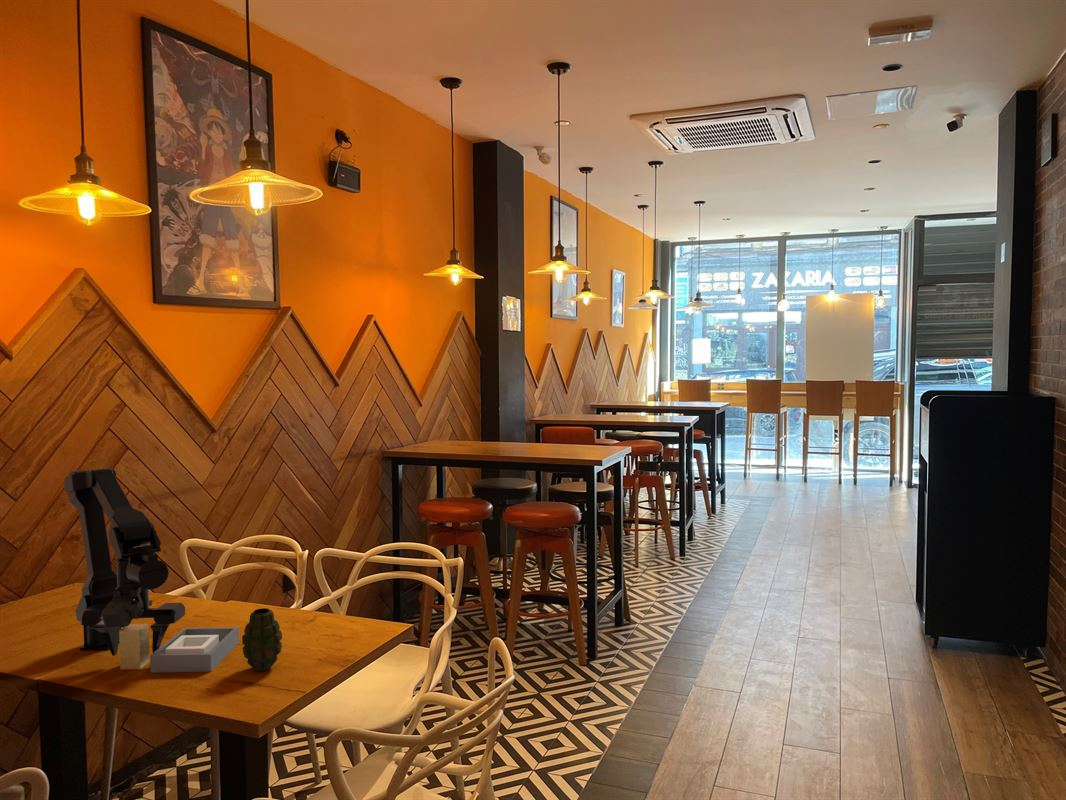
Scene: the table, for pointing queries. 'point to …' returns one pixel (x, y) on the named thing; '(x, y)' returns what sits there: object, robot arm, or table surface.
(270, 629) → the grenade
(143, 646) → the peg
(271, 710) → the table surface
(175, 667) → the walled frame
